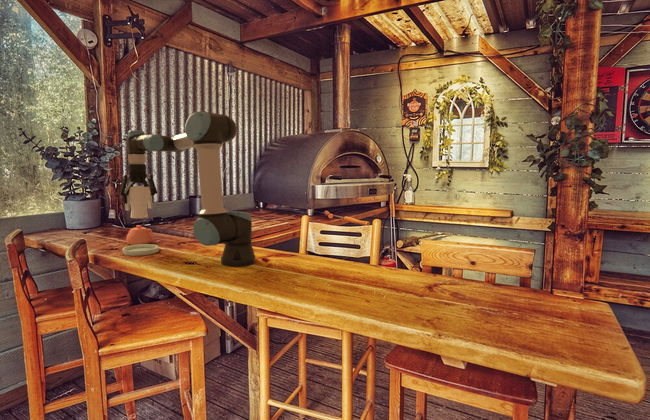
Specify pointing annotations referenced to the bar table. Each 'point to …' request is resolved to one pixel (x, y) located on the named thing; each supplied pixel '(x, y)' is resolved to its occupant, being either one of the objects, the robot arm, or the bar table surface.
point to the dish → (140, 249)
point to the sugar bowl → (139, 236)
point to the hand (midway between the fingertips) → (139, 209)
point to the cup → (139, 201)
